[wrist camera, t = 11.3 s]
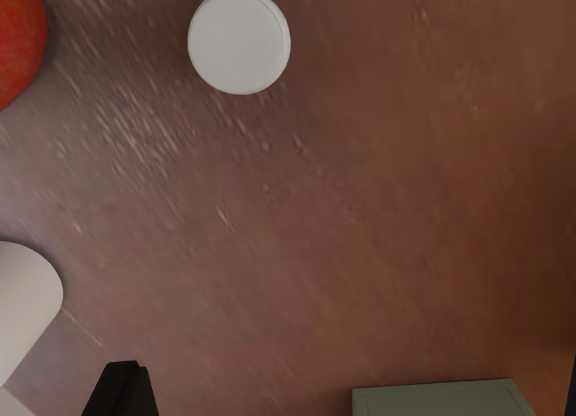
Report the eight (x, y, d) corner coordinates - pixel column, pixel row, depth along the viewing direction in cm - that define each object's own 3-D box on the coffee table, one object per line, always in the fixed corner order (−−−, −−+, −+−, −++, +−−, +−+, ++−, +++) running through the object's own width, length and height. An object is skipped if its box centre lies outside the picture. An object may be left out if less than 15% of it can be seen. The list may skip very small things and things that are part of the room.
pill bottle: (193, 9, 26) (159, 2, 19) (273, -16, 26) (273, -35, 18) (221, 91, 28) (200, 116, 20) (296, 68, 28) (305, 85, 20)
